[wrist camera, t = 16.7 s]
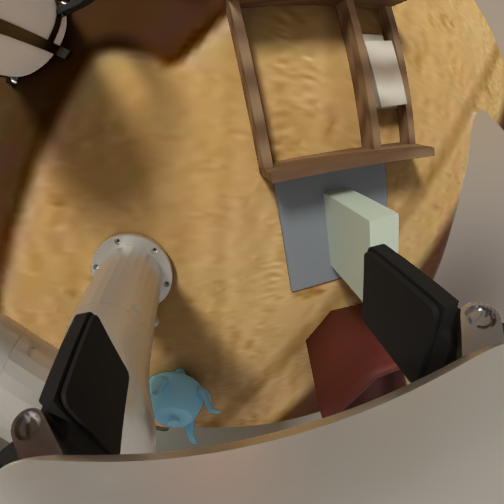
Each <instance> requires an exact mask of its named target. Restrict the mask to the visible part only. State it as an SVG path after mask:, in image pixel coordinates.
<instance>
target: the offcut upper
mask: <svg viewBox="0 0 504 504" xmlns="http://www.w3.org/2000/svg"><path fill="white" fill-rule="evenodd" d="M364 43H365V47H366V52H367V57H368V62H369V67H370V72H371V77H372V83H373V89H374V95H375V102H376V108H382V107H389V106H396V105H403V104H407V100H406V95H405V90H404V86H403V81H402V77H401V73H400V69H399V65H398V61H397V57H396V54H395V50H394V47H393V43H392V41H364Z"/></svg>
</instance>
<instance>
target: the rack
mask: <svg viewBox="0 0 504 504" xmlns="http://www.w3.org/2000/svg"><path fill="white" fill-rule="evenodd" d="M404 1H407V0H225V3H224V4H225V8H226V13H227V17H228V21H229V26H230V30H231V35H232V39H233V44H234V48H235V53H236V58H237V62H238V67H239V72H240V76H241V81H242V86H243V91H244V95H245V100H246V105H247V110H248V115H249V120H250V125H251V130H252V135H253V140H254V145H255V150H256V155H257V160H258V165H259V171H260V174H261V175H262V176H264V177H265V178H266V179H267V180H269V181H270V182H271V183H272V184H273V183H277V182H282V181H287V180H292V179H297V178H301V177H306V176H312V175H317V174H322V173H327V172H333V171H338V170H344V169H349V168H355V167H361V166H367V165H373V164H379V163H386V162H392V161H399V160H406V159H413V158H421V157H429V156H435V153H434V148H433V147H429V146H424V145H419V144H415V132H414V122H413V113H412V105H411V97H410V90H409V84H408V78H407V72H406V67H405V61H404V56H403V52H402V47H401V42H400V38H399V34H398V30H397V26H396V22H395V18H394V15H393V11H392V8H391V7H392V6H394V5H397V4H399V3H402V2H404ZM276 5H331V6H335V7H336V10H337V14H338V18H339V22H340V26H341V30H342V34H343V38H344V42H345V47H346V51H347V56H348V61H349V66H350V71H351V76H352V81H353V87H354V93H355V99H356V105H357V112H358V119H359V126H360V134H361V142H362V147H360V148H352V149H346V150H339V151H333V152H326V153H320V154H314V155H309V156H303V157H297V158H292V159H287V160H282V161H277V162H272V157H271V151H270V146H269V141H268V135H267V130H266V125H265V120H264V115H263V110H262V105H261V100H260V95H259V90H258V85H257V80H256V75H255V71H254V66H253V61H252V57H251V52H250V48H249V43H248V39H247V34H246V30H245V25H244V21H243V17H242V13H241V8H249V7H261V6H276ZM355 7H358V8H367V9H375V10H377V13H378V16H379V20H380V24H381V28H382V32H383V36H384V40H385V41H392V43H393V47H394V50H395V54H396V57H397V61H398V65H399V69H400V73H401V77H402V81H403V86H404V90H405V95H406V100H407V104H403V105H397V114H398V123H399V132H400V143H391V144H383V145H381V141H380V132H379V123H378V116H377V108H376V102H375V95H374V89H373V83H372V77H371V72H370V67H369V62H368V57H367V52H366V47H365V43H364V39H363V34H362V30H361V26H360V22H359V19H358V15H357V11H356V8H355Z"/></svg>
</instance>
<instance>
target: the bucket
mask: <svg viewBox="0 0 504 504" xmlns="http://www.w3.org/2000/svg"><path fill="white" fill-rule="evenodd" d="M362 304H363V303H362ZM362 304H358V305H354V306H350V307H346V308H341V309H337V310H333V311H330V313H329V314H328V315H327V316H326V318H325V319H324V320H323V321H322V322H321V324H320V325H319V326H318V327H317V328H316V329H315V331H314V332H313V333H312V334H311V335H310V336H309V338H308V339H307V340H306V343H307V348H308V353H309V358H310V363H311V368H312V373H313V378H314V383H315V389H316V394H317V399H318V404H319V408H320V412H321V415H322V418H325V417H328V416H331V415H334V414H337V413H340V412H343V411H346V410H348V409H351V408H354V407H356V406H359V405H362V404H364V403H367V402H369V401H372V400H374V399H376V398H379V397H381V396H384V395H386V394H388V393H390V392H393V391H395V390H397V389H399V388H402V387H404V386H406V385H408V384H410V382H409V380H408V379H407V378H406V376H405V375H404V374H403V372H402V371H401V370H400V368H399V367H398V366H397V364H396V363H395V362H394V361H393V359H392V358H391V357H390V355H389V354H388V353H387V351H386V350H385V349H384V347H383V346H382V345H381V344H380V342H379V341H378V340H377V338H376V337H375V336H374V335H373V333H372V332H371V331H370V329H369V328H368V327H367V326H366V324H365V323H364V321H363V318H362Z"/></svg>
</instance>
